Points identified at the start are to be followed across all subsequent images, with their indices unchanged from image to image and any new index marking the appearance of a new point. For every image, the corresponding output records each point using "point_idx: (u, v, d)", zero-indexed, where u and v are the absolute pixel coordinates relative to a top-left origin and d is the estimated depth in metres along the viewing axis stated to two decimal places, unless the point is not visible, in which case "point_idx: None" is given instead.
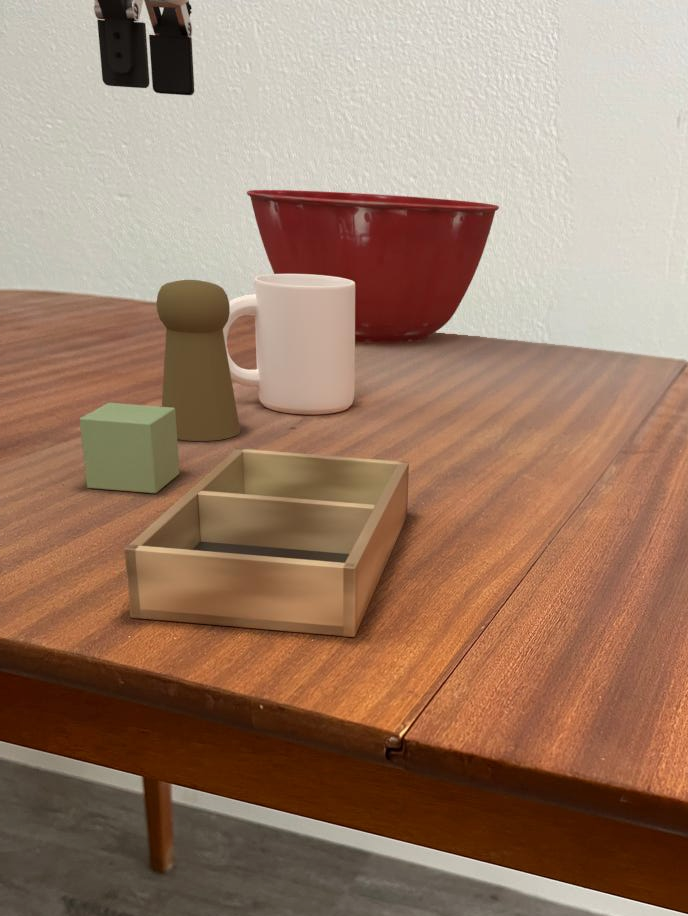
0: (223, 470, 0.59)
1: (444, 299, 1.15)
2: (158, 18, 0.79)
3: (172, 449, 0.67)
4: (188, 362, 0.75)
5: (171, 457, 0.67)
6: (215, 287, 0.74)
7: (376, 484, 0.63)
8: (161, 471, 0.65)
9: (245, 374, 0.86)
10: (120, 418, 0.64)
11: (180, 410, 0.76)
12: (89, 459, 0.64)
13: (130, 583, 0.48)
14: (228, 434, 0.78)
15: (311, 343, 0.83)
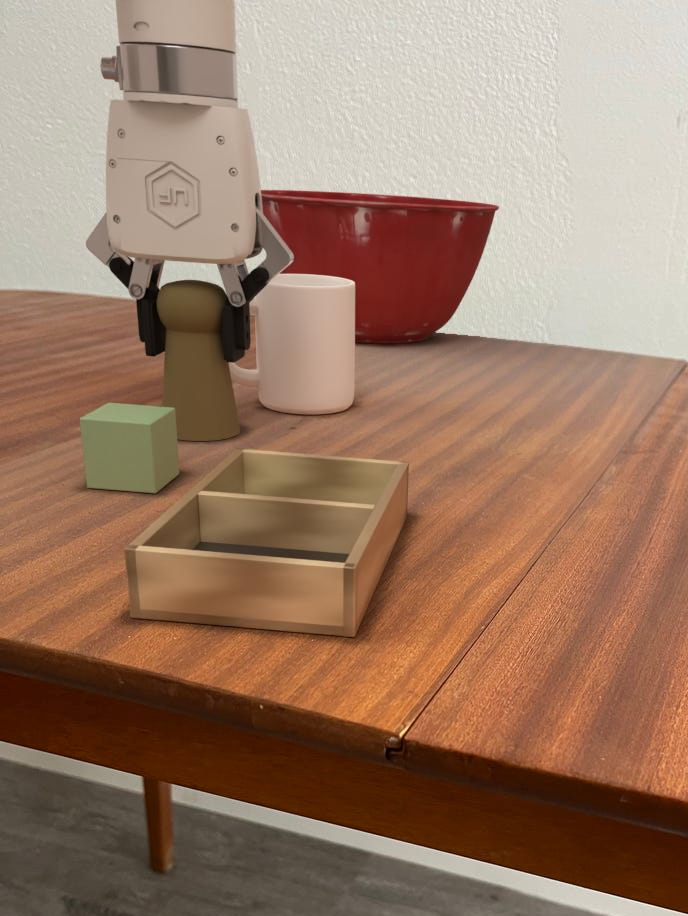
0: (223, 470, 0.59)
1: (444, 299, 1.15)
2: None
3: (172, 449, 0.67)
4: (188, 362, 0.75)
5: (171, 457, 0.67)
6: (215, 287, 0.74)
7: (376, 484, 0.63)
8: (161, 471, 0.65)
9: (245, 374, 0.86)
10: (120, 418, 0.64)
11: (180, 410, 0.76)
12: (89, 459, 0.64)
13: (130, 583, 0.48)
14: (228, 434, 0.78)
15: (311, 343, 0.83)
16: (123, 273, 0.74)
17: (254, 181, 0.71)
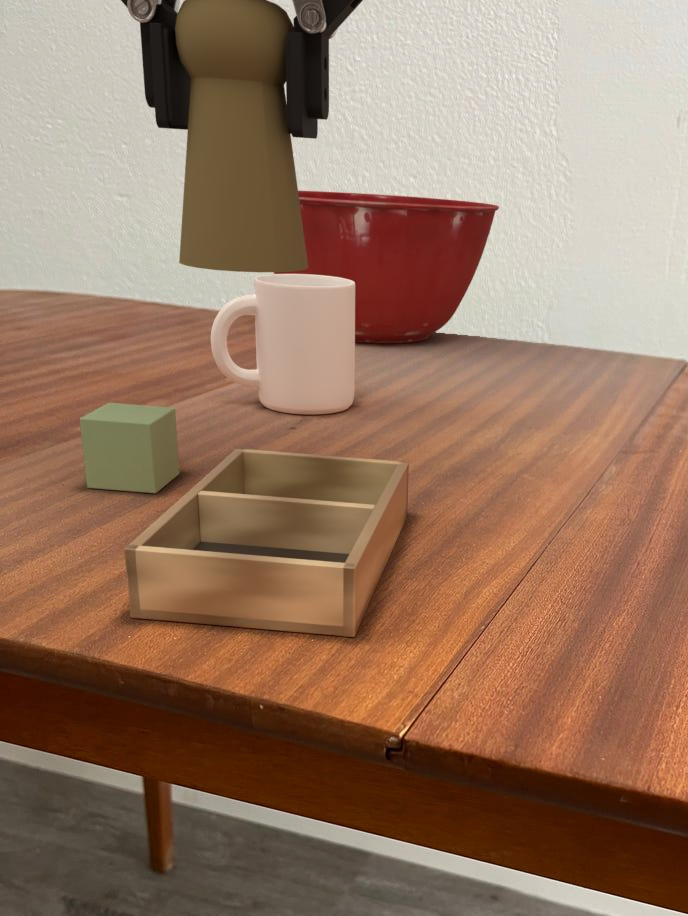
0: (223, 470, 0.59)
1: (444, 299, 1.15)
2: None
3: (172, 449, 0.67)
4: (228, 132, 0.44)
5: (171, 457, 0.67)
6: (274, 3, 0.44)
7: (376, 484, 0.63)
8: (161, 471, 0.65)
9: (245, 374, 0.86)
10: (120, 418, 0.64)
11: (213, 218, 0.46)
12: (89, 459, 0.64)
13: (130, 583, 0.48)
14: (291, 265, 0.47)
15: (311, 343, 0.83)
16: None
17: None
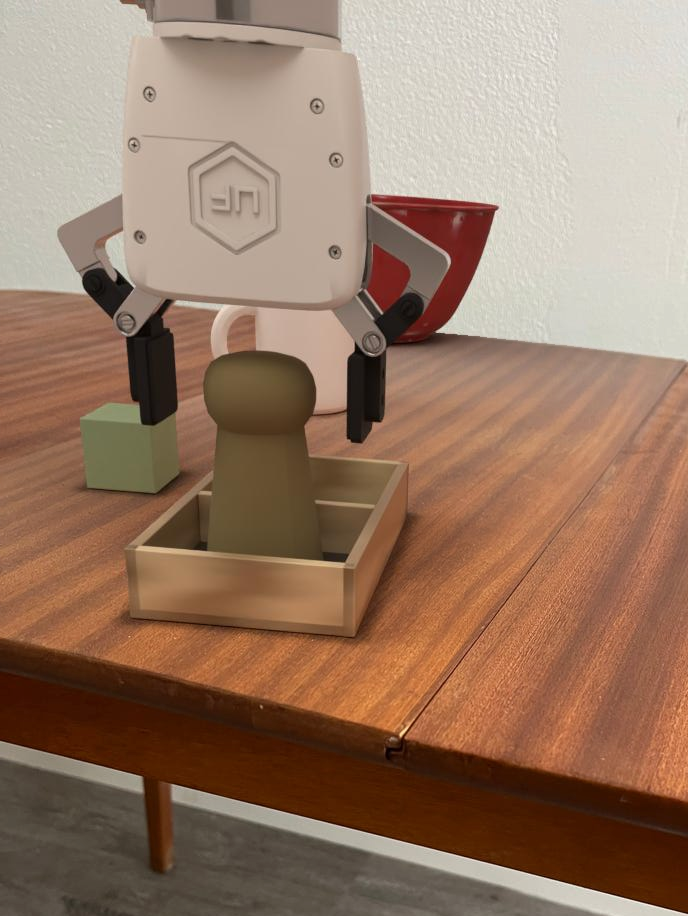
0: None
1: (444, 299, 1.15)
2: None
3: (172, 449, 0.67)
4: (253, 480, 0.47)
5: (171, 457, 0.67)
6: (296, 363, 0.47)
7: (376, 484, 0.63)
8: (161, 471, 0.65)
9: None
10: (120, 418, 0.64)
11: (238, 552, 0.49)
12: (89, 459, 0.64)
13: (130, 583, 0.48)
14: None
15: (311, 343, 0.83)
16: (101, 297, 0.46)
17: (365, 176, 0.43)
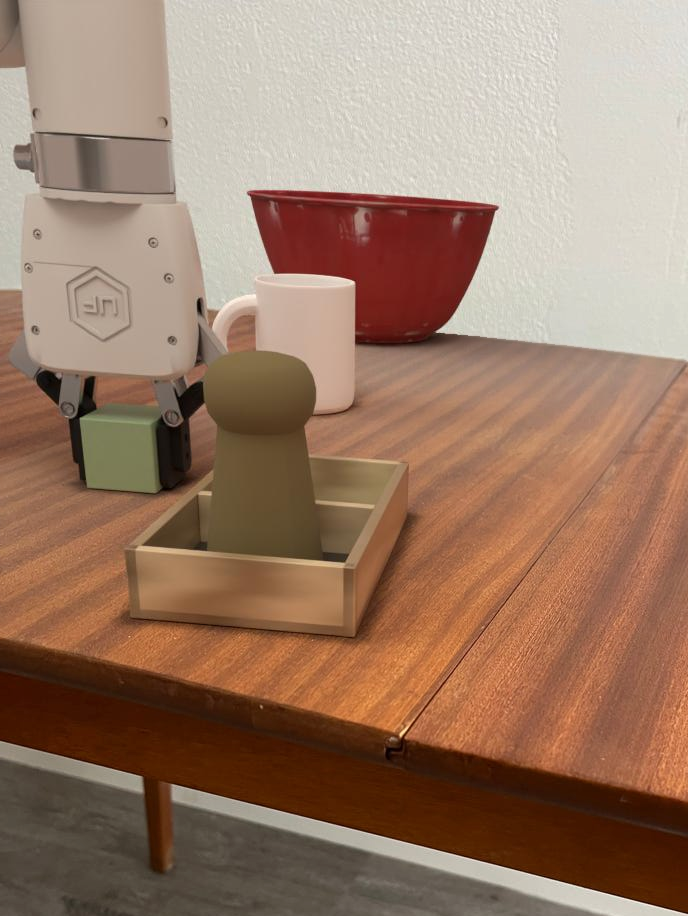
0: None
1: (444, 299, 1.15)
2: None
3: None
4: (253, 480, 0.47)
5: None
6: (296, 363, 0.47)
7: (376, 484, 0.63)
8: None
9: None
10: (120, 418, 0.64)
11: (238, 552, 0.49)
12: (89, 459, 0.64)
13: (130, 583, 0.48)
14: None
15: (311, 343, 0.83)
16: (53, 388, 0.64)
17: (195, 285, 0.61)
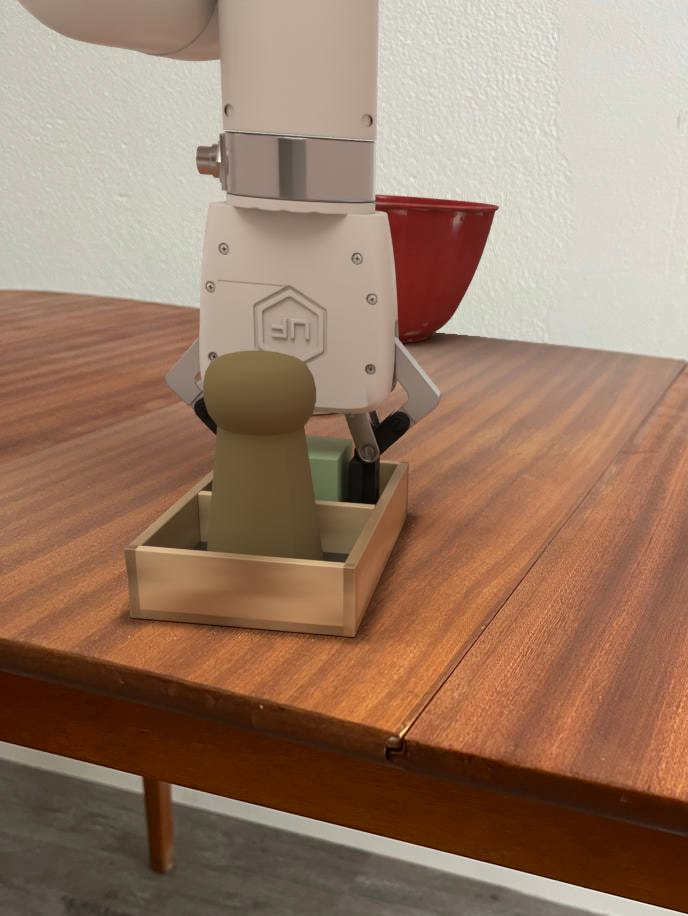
0: None
1: (444, 299, 1.15)
2: None
3: None
4: (253, 480, 0.47)
5: None
6: (296, 363, 0.47)
7: None
8: None
9: None
10: None
11: (238, 552, 0.49)
12: None
13: (130, 583, 0.48)
14: None
15: None
16: None
17: (394, 306, 0.54)
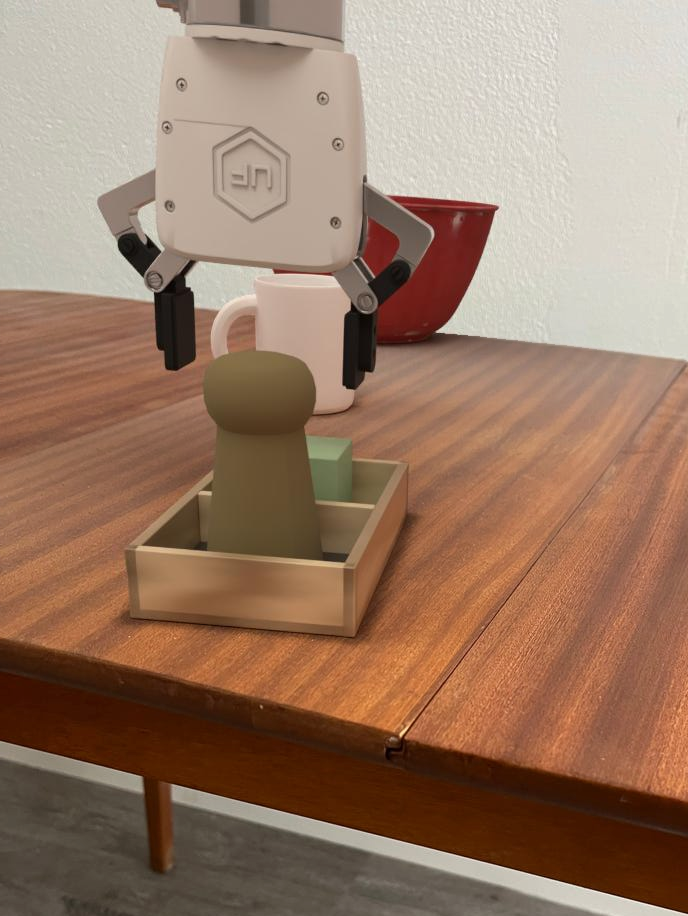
0: None
1: (444, 299, 1.15)
2: None
3: (349, 485, 0.60)
4: (253, 480, 0.47)
5: (348, 494, 0.60)
6: (296, 363, 0.47)
7: (376, 484, 0.63)
8: None
9: None
10: None
11: (238, 552, 0.49)
12: None
13: (130, 583, 0.48)
14: None
15: (311, 343, 0.83)
16: (133, 258, 0.53)
17: (363, 158, 0.51)
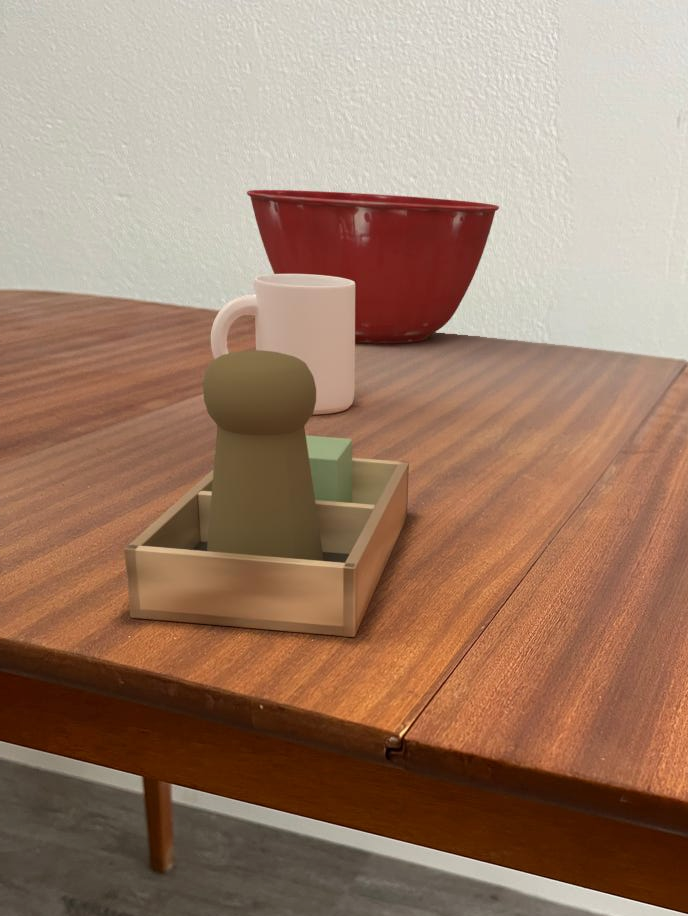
0: None
1: (444, 299, 1.15)
2: None
3: (349, 485, 0.60)
4: (253, 480, 0.47)
5: (348, 494, 0.60)
6: (296, 363, 0.47)
7: (376, 484, 0.63)
8: None
9: None
10: None
11: (238, 552, 0.49)
12: None
13: (130, 583, 0.48)
14: None
15: (311, 343, 0.83)
16: None
17: None
